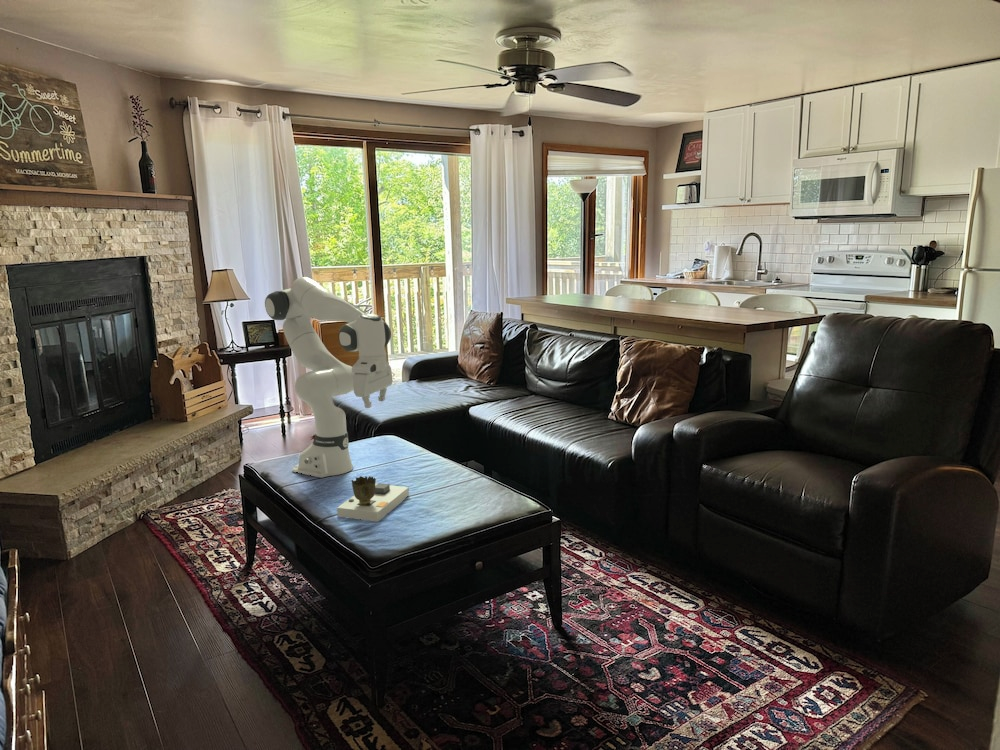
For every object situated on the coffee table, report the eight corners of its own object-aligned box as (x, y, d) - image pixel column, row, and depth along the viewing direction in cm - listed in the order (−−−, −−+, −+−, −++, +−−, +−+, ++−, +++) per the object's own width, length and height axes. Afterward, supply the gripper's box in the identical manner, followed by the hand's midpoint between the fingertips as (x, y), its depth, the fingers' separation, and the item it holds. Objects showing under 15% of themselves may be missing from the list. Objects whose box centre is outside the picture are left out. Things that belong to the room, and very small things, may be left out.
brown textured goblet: (364, 497, 212) (363, 474, 211) (381, 501, 209) (380, 478, 207) (348, 505, 206) (346, 481, 204) (365, 510, 202) (364, 485, 201)
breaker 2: (373, 496, 217) (372, 487, 216) (379, 492, 220) (378, 483, 220) (384, 497, 215) (383, 488, 215) (390, 493, 219) (389, 484, 219)
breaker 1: (358, 513, 208) (357, 504, 207) (364, 508, 211) (364, 499, 211) (369, 514, 207) (369, 505, 206) (375, 510, 210) (375, 500, 210)
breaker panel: (337, 516, 206) (337, 506, 205) (372, 491, 226) (371, 482, 225) (377, 521, 201) (377, 511, 201) (409, 495, 222) (408, 486, 221)
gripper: (379, 357, 227) (381, 396, 230) (348, 368, 208) (351, 411, 210) (396, 358, 225) (397, 397, 228) (366, 369, 206) (368, 412, 209)
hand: (375, 404), depth 219 cm, fingers open, 8 cm apart
